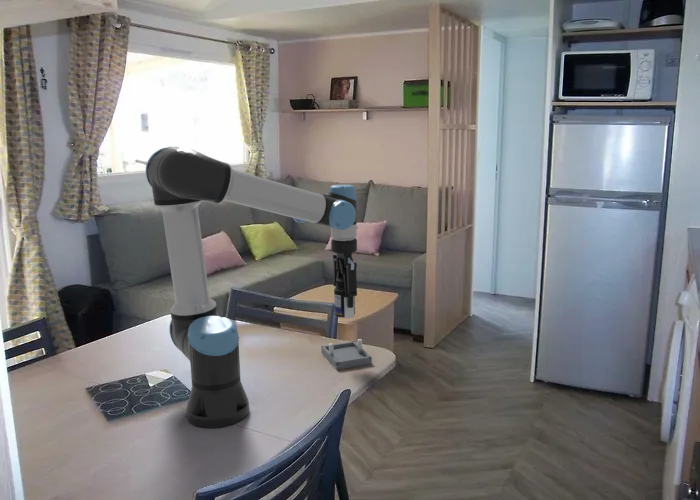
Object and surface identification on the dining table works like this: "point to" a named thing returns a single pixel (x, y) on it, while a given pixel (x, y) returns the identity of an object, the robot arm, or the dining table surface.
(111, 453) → the dining table surface
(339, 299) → the pill bottle
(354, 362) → the tray
